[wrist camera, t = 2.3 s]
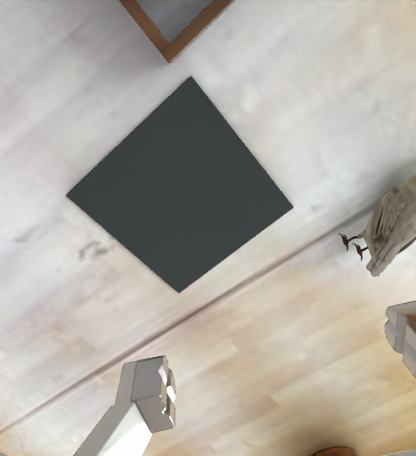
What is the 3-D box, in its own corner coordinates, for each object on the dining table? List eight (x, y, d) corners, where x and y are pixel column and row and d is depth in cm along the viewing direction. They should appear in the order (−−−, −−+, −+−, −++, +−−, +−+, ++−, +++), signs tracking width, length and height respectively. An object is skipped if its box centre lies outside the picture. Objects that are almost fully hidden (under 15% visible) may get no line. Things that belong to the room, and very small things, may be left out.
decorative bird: (448, 162, 40) (501, 180, 33) (356, 254, 45) (387, 285, 39) (422, 138, 38) (472, 151, 32) (330, 236, 44) (357, 265, 37)
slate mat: (67, 194, 38) (65, 195, 38) (191, 75, 34) (191, 76, 33) (178, 291, 46) (178, 293, 45) (292, 206, 41) (293, 207, 41)
